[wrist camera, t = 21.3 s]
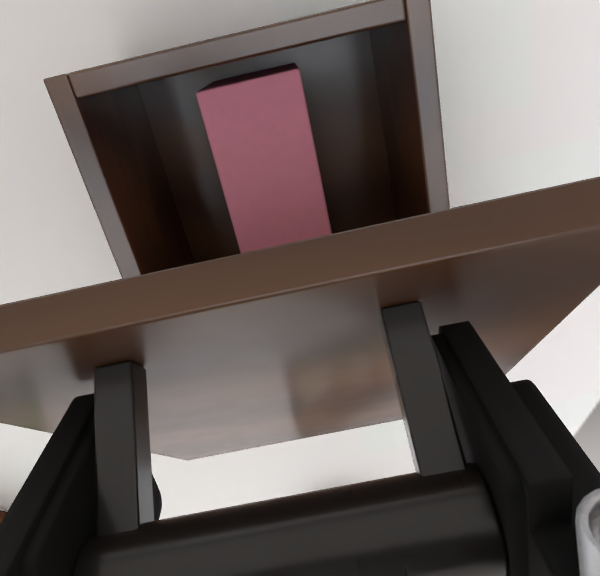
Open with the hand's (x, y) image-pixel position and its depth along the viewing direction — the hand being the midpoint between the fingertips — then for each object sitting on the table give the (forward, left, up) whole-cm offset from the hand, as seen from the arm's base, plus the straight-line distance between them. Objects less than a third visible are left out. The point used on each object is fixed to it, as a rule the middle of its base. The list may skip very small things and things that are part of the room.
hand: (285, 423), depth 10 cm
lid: (+2, -1, -5) cm, 5 cm away
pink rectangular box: (-1, +1, -18) cm, 18 cm away
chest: (0, 0, -19) cm, 19 cm away
